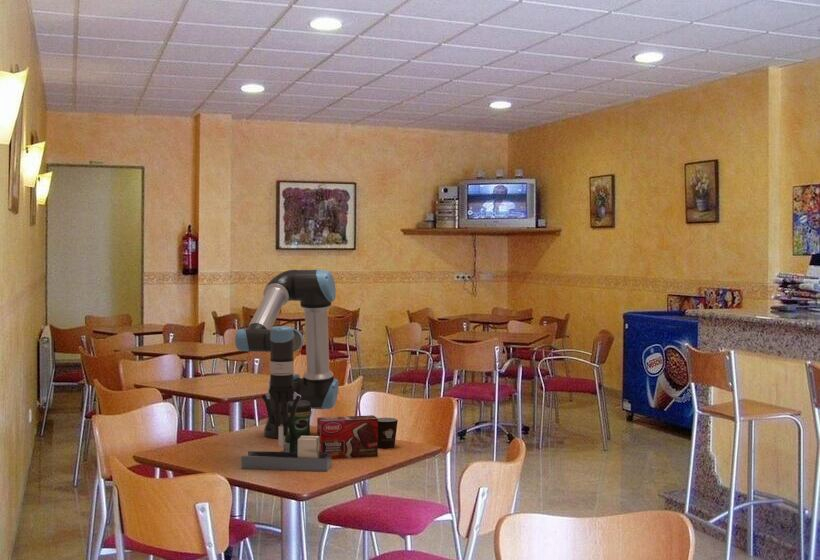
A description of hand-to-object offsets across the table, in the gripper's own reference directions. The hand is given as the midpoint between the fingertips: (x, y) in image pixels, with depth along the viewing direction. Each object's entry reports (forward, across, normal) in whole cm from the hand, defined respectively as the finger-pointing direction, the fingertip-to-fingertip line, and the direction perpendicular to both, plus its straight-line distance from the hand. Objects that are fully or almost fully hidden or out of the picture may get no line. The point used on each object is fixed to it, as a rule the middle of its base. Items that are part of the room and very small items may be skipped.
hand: (281, 445), depth 300 cm
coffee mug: (+8, +29, +36) cm, 46 cm away
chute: (+7, +2, 0) cm, 7 cm away
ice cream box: (+8, +19, +18) cm, 28 cm away
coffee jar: (+8, +1, +20) cm, 22 cm away
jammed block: (+5, +9, 0) cm, 10 cm away
